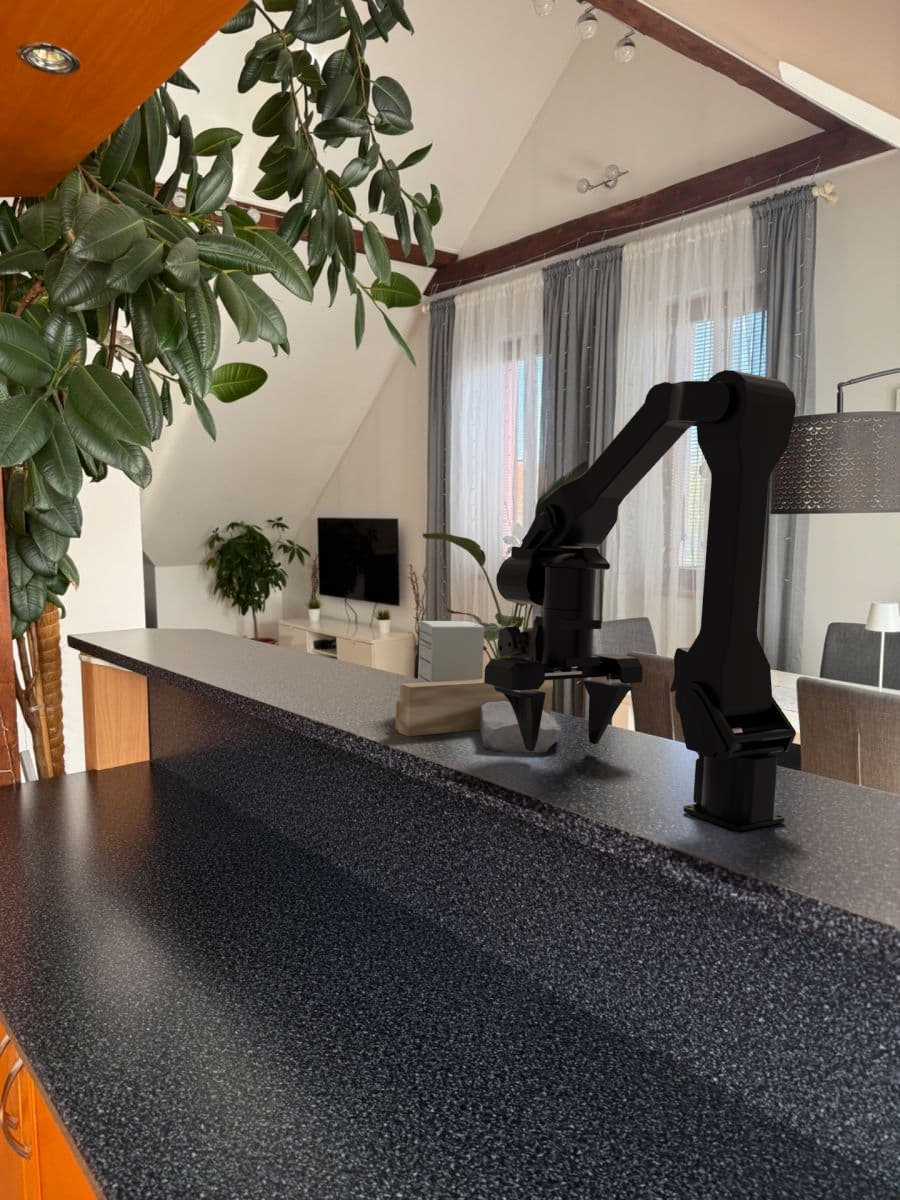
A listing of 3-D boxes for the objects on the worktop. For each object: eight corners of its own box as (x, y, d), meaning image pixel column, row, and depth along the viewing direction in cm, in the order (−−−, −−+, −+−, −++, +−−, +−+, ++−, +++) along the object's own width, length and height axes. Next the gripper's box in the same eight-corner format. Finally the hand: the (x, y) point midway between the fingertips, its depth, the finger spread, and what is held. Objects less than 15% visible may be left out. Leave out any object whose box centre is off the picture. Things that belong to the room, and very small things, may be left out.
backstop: (550, 722, 122) (552, 678, 121) (408, 736, 110) (410, 687, 110) (530, 716, 125) (532, 673, 125) (390, 729, 114) (392, 681, 113)
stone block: (548, 746, 116) (472, 728, 116) (557, 711, 116) (481, 692, 115) (561, 774, 105) (477, 754, 104) (572, 734, 104) (487, 714, 104)
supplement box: (465, 708, 129) (469, 620, 129) (481, 719, 122) (486, 626, 121) (415, 709, 127) (419, 619, 126) (428, 720, 120) (432, 625, 119)
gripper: (584, 603, 113) (579, 727, 114) (459, 604, 103) (454, 739, 104) (648, 610, 104) (642, 745, 105) (518, 611, 94) (512, 760, 95)
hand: (562, 747), depth 103 cm, fingers open, 9 cm apart
